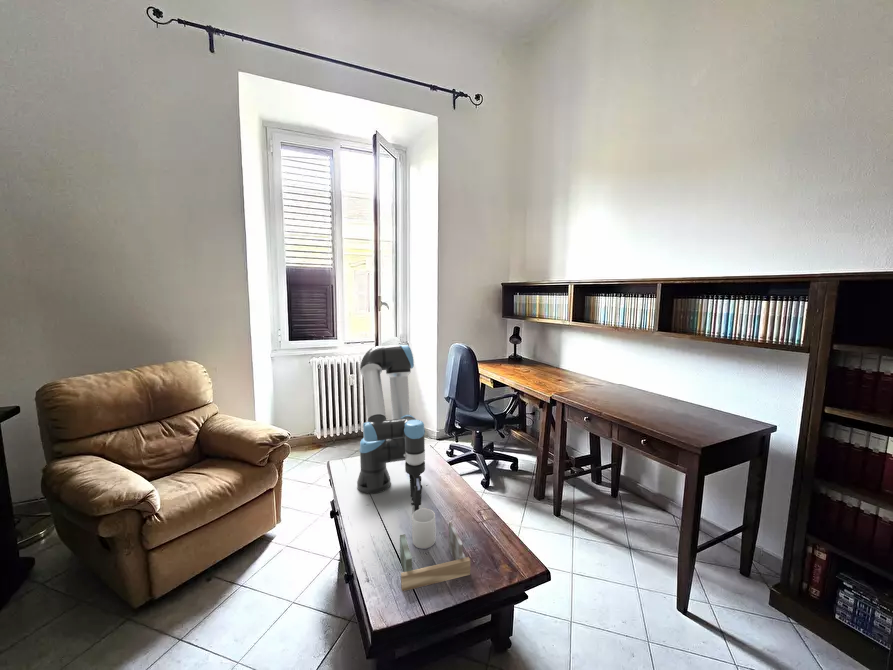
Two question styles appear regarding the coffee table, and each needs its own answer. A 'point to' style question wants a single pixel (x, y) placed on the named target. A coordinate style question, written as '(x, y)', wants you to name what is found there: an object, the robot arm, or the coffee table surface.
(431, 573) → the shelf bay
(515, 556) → the coffee table surface
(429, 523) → the mug
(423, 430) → the robot arm
